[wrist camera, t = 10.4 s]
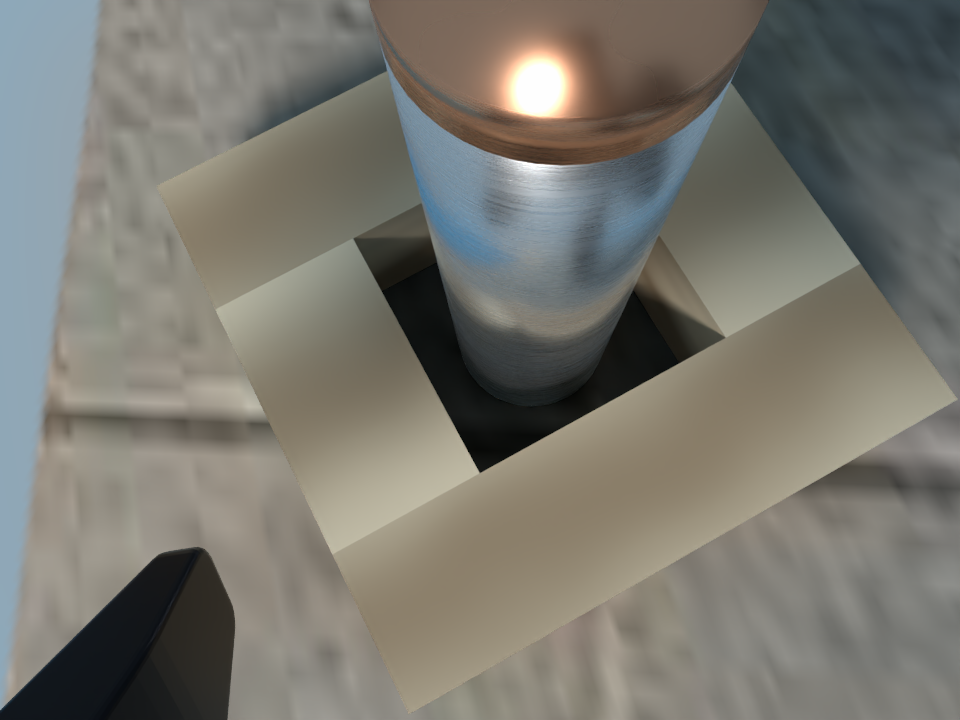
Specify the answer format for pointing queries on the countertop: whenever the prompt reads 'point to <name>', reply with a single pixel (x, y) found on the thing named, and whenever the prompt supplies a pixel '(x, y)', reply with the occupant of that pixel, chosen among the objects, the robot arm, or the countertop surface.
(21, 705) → the robot arm
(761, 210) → the socket block
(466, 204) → the copper capped silver cylinder
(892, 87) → the countertop surface
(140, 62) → the countertop surface
